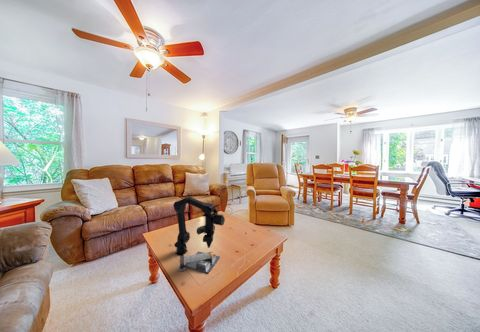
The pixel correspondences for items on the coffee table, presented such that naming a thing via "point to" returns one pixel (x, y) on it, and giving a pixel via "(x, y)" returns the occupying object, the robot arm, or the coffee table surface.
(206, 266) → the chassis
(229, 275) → the coffee table surface
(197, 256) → the cable arm
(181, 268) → the pivot post
